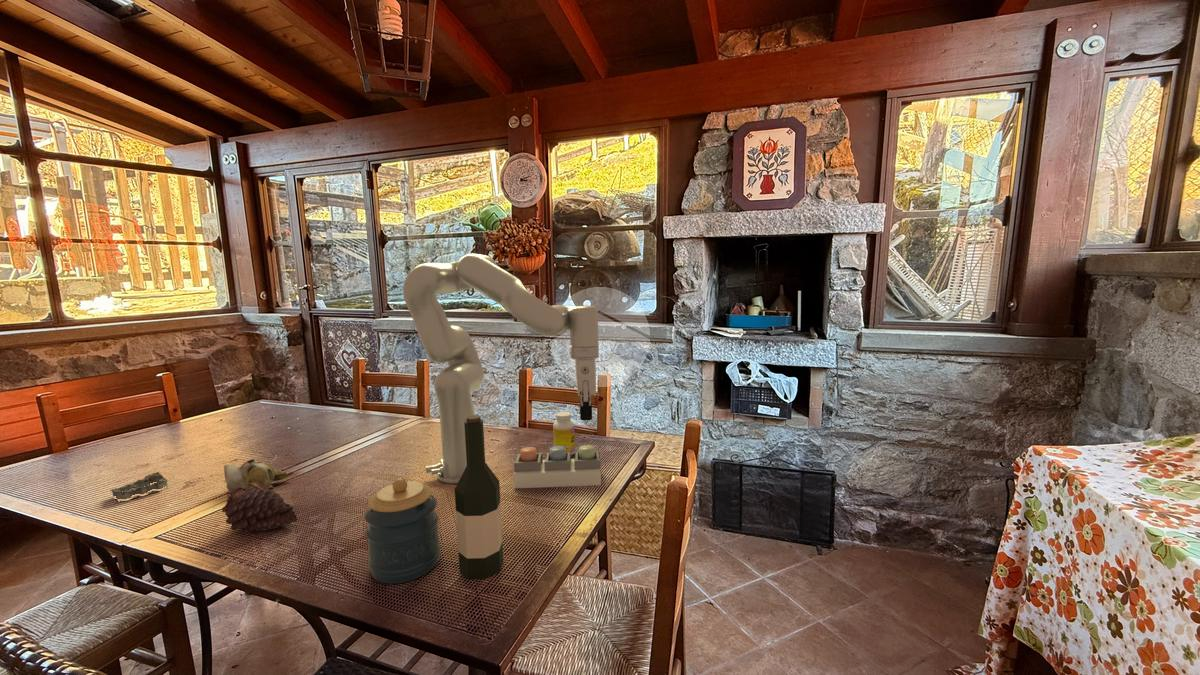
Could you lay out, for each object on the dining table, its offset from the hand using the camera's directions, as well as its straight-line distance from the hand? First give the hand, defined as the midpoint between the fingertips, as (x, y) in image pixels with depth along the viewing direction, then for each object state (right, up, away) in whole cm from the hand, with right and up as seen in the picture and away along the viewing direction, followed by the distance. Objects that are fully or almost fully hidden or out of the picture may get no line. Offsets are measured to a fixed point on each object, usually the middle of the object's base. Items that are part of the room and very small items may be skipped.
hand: (586, 418), depth 128 cm
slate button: (-8, -11, +1) cm, 14 cm away
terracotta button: (-16, -12, +1) cm, 20 cm away
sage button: (0, -11, +1) cm, 11 cm away
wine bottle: (-19, -23, -36) cm, 47 cm away
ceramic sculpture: (-90, -19, 0) cm, 92 cm away
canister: (-34, -23, -35) cm, 54 cm away
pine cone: (-74, -22, -20) cm, 80 cm away
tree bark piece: (-120, -20, -1) cm, 121 cm away
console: (-8, -17, +2) cm, 19 cm away
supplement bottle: (-7, -15, +21) cm, 27 cm away
